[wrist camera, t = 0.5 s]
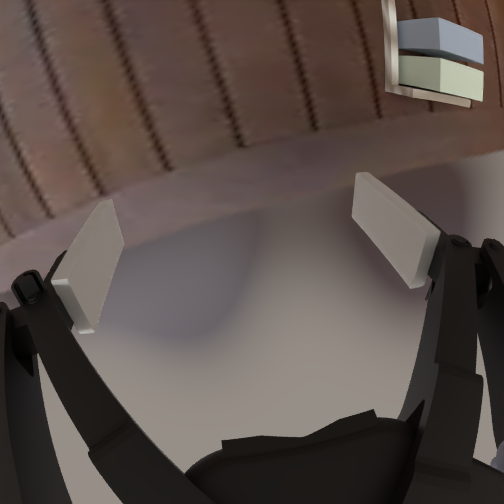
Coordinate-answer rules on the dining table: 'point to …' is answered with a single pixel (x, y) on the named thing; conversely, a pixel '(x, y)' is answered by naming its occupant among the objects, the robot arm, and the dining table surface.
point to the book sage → (440, 76)
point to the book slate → (440, 39)
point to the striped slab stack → (392, 63)
